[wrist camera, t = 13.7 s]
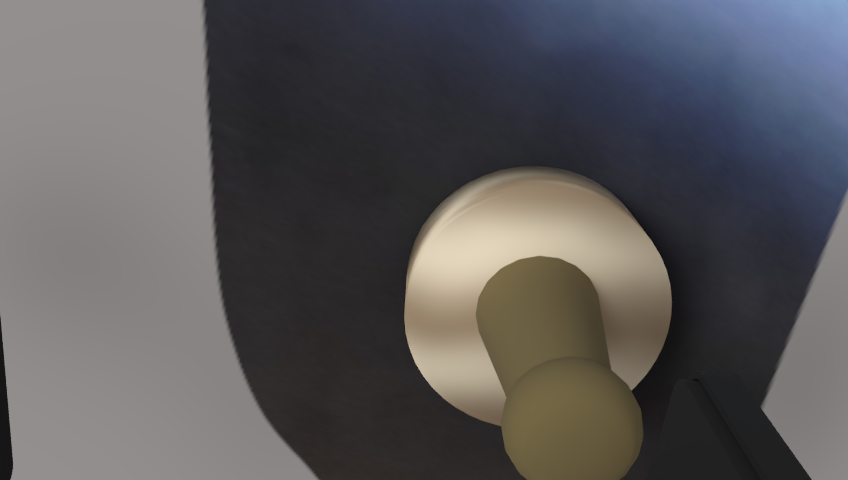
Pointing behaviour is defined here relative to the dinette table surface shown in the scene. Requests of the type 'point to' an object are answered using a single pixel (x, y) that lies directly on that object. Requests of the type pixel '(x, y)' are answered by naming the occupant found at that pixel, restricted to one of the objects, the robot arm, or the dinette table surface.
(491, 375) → the disc
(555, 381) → the olive pawn
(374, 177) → the dinette table surface
